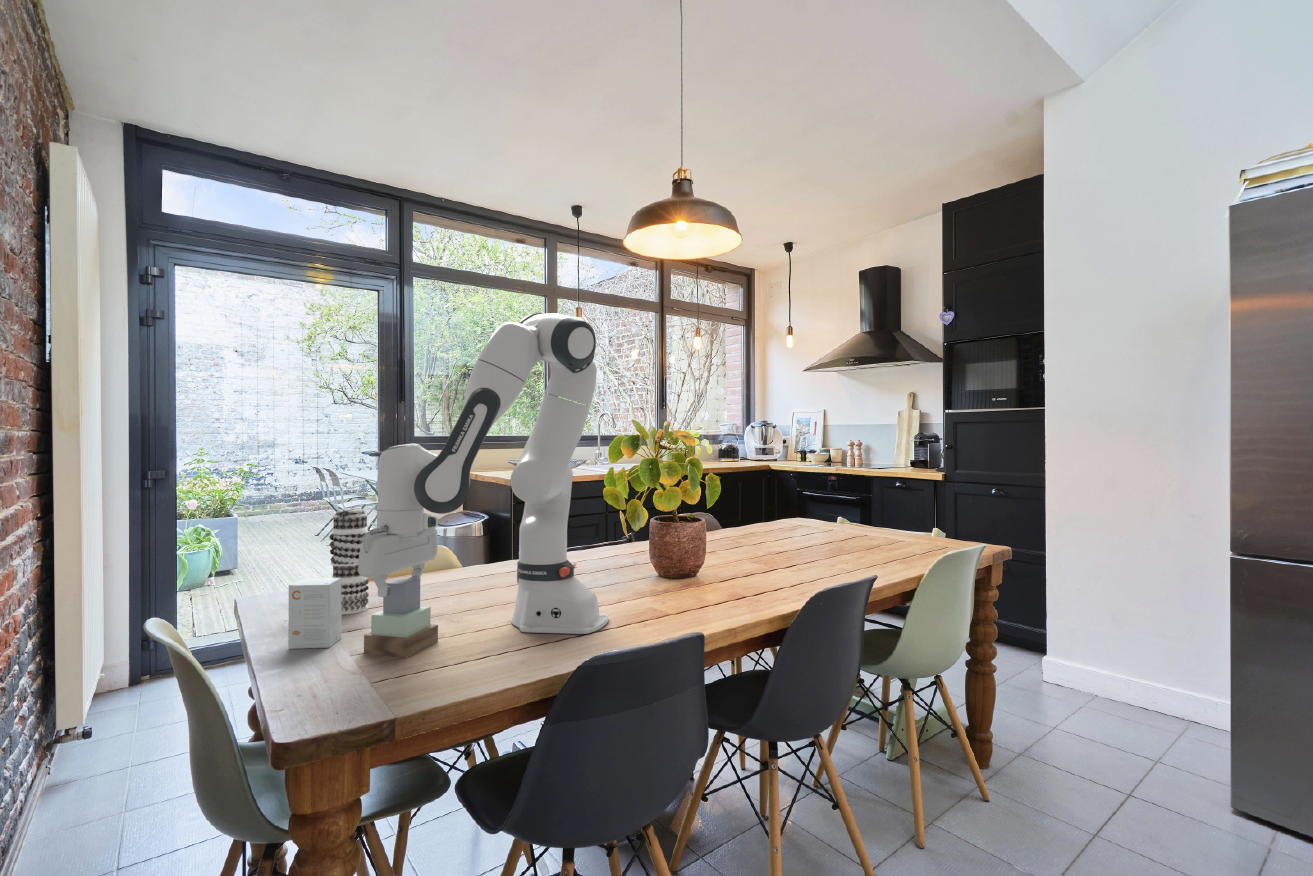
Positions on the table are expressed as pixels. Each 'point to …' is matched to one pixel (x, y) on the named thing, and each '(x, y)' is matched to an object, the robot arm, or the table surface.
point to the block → (402, 596)
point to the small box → (314, 613)
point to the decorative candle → (349, 558)
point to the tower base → (401, 643)
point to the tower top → (400, 623)
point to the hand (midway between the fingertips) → (399, 590)
